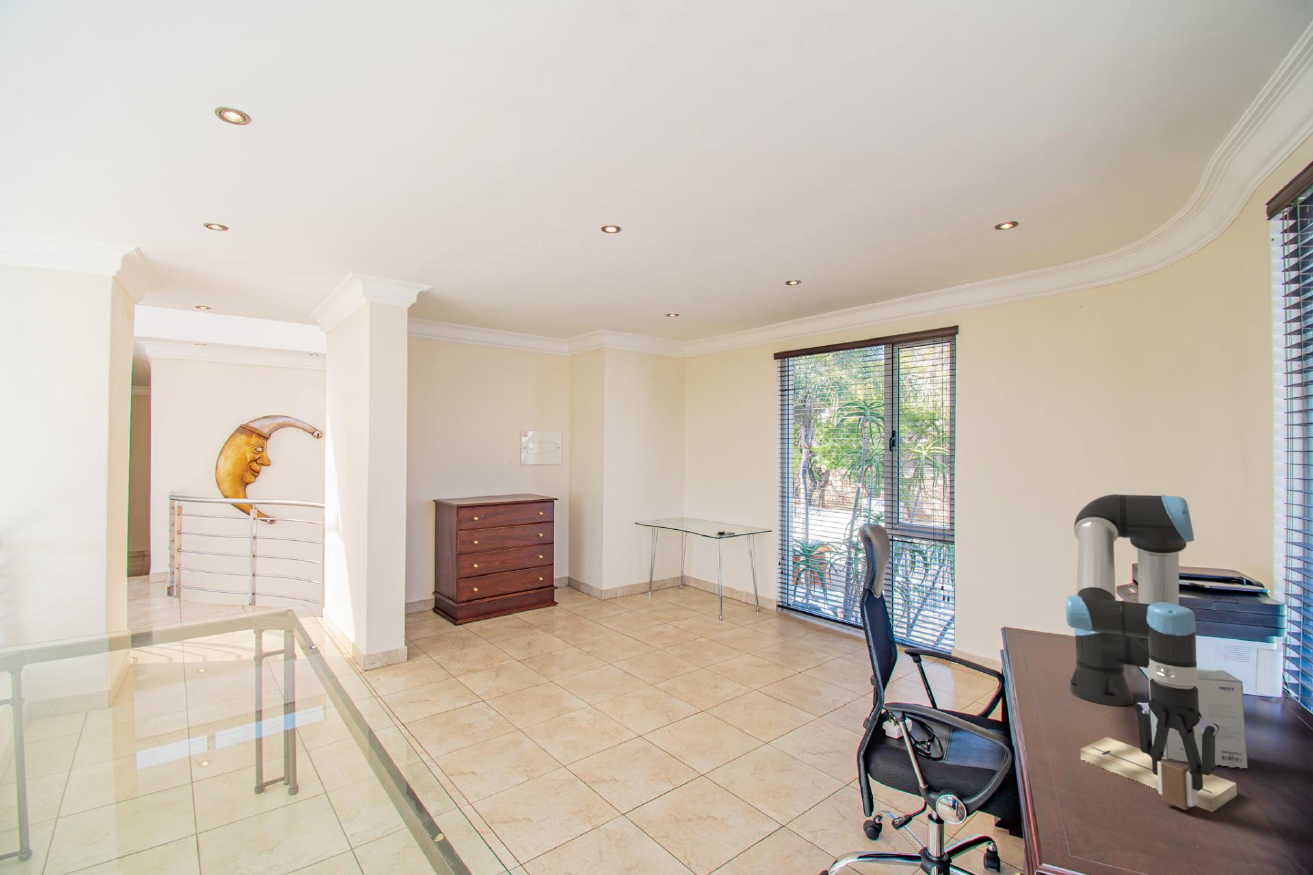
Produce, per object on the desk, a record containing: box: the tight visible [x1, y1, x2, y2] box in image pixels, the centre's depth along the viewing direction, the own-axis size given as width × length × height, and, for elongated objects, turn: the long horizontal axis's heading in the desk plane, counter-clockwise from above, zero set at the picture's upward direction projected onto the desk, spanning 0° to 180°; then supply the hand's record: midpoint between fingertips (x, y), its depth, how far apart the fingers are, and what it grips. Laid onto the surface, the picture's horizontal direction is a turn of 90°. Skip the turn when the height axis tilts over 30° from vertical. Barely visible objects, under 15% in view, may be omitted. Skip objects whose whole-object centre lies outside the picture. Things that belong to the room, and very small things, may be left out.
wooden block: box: [1161, 758, 1192, 811], centre depth 122 cm, size 4×4×8 cm
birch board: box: [1079, 736, 1238, 813], centre depth 133 cm, size 24×12×3 cm, turn 28°
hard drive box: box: [1147, 665, 1248, 769], centre depth 142 cm, size 16×8×20 cm, turn 71°
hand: (1177, 798), depth 122 cm, fingers closed on wooden block, 4 cm apart
